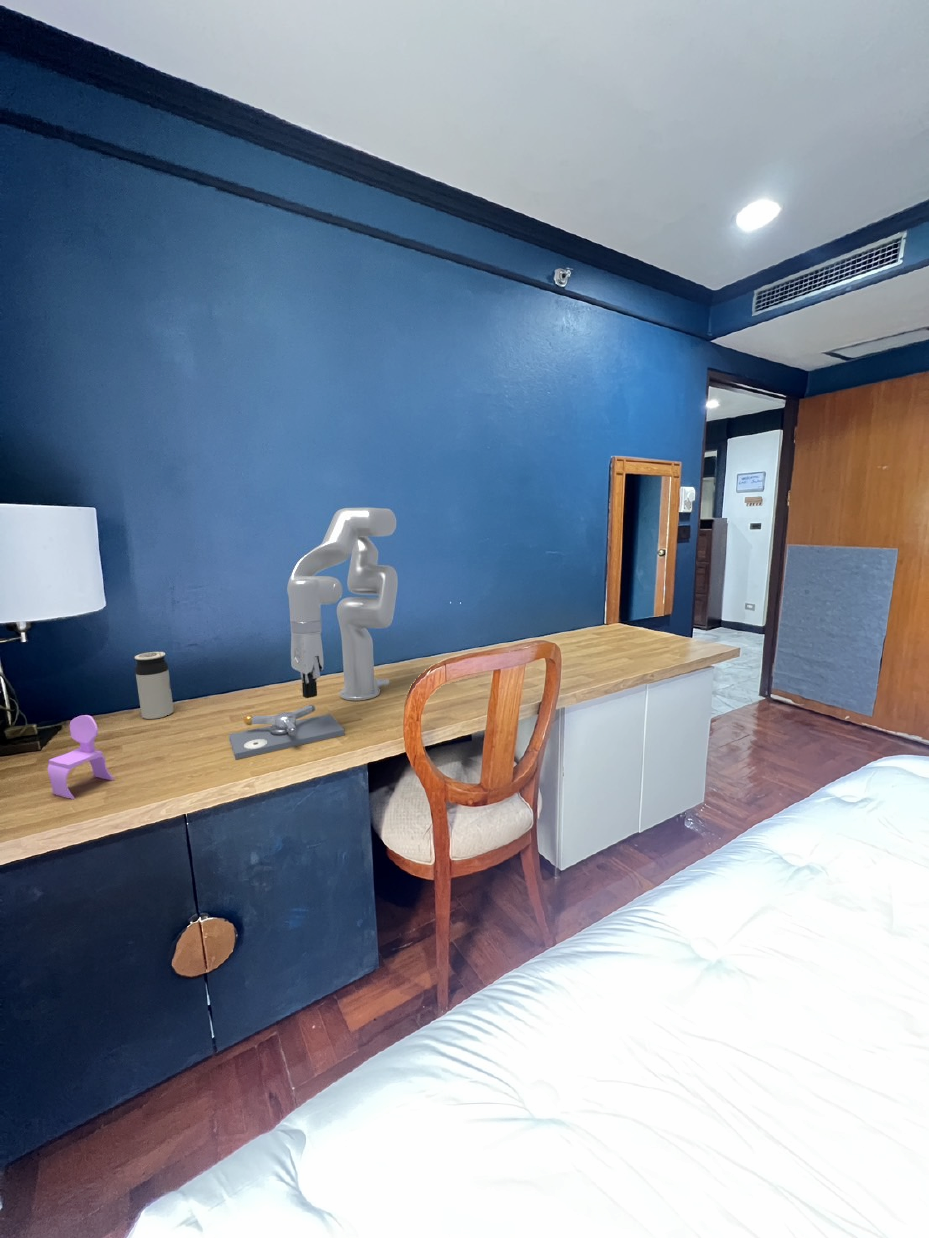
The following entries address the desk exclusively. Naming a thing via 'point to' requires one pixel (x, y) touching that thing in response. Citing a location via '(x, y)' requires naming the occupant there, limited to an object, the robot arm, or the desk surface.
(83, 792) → the desk surface
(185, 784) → the desk surface
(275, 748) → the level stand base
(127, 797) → the desk surface
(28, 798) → the desk surface
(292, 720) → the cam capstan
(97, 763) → the toy chair
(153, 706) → the travel mug
